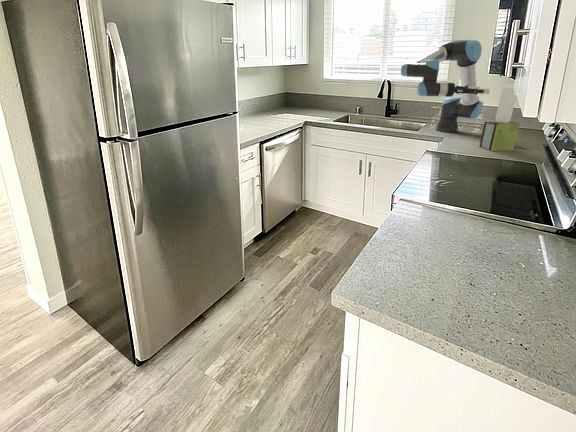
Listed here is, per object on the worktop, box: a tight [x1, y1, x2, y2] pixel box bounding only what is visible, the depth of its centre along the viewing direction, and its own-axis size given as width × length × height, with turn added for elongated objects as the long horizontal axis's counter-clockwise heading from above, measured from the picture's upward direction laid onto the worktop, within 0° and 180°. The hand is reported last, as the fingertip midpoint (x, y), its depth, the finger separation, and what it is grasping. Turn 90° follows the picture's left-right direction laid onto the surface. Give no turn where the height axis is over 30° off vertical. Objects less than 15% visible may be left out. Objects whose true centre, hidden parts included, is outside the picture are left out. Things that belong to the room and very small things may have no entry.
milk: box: [494, 80, 517, 123], centre depth 209 cm, size 6×6×22 cm
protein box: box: [479, 120, 521, 152], centre depth 216 cm, size 10×15×16 cm
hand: (484, 90), depth 211 cm, fingers open, 13 cm apart
